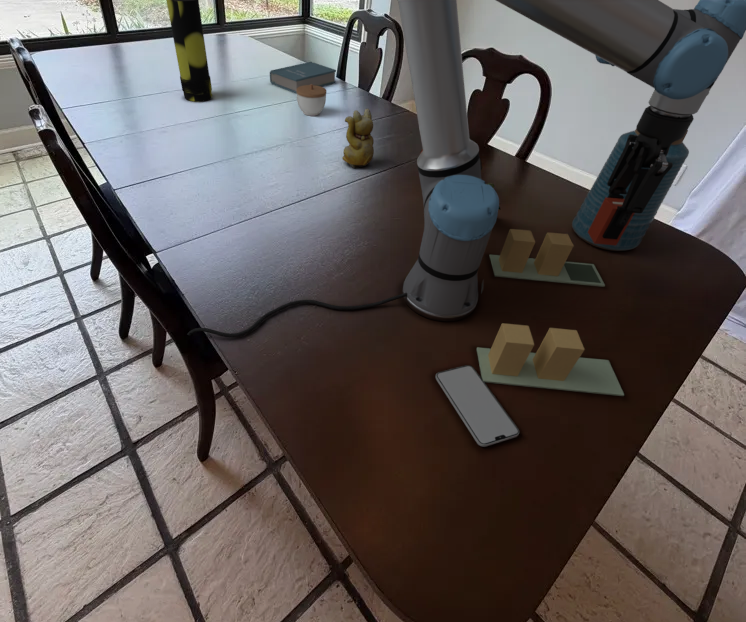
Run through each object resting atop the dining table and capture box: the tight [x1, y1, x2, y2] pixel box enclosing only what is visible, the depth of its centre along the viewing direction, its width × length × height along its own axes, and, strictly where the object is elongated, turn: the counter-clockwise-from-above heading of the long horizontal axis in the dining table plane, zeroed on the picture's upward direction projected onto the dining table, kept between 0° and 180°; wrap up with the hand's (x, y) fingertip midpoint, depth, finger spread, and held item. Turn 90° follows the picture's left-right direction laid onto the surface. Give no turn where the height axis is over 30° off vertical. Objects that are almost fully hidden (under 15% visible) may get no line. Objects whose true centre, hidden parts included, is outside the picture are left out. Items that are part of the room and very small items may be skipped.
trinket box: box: [296, 84, 327, 117], centre depth 158 cm, size 11×11×9 cm
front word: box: [476, 322, 625, 397], centre depth 75 cm, size 24×8×8 cm, turn 85°
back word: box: [489, 228, 606, 288], centre depth 96 cm, size 24×8×8 cm, turn 85°
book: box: [269, 61, 337, 95], centre depth 183 cm, size 23×16×5 cm
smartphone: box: [435, 364, 520, 448], centre depth 71 cm, size 7×1×15 cm
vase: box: [571, 128, 690, 252], centre depth 102 cm, size 16×16×27 cm
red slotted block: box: [588, 197, 635, 245], centre depth 89 cm, size 4×4×8 cm
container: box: [166, 0, 213, 103], centre depth 156 cm, size 11×11×30 cm
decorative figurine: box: [342, 108, 375, 169], centre depth 128 cm, size 10×8×15 cm
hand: (605, 230), depth 91 cm, fingers closed on red slotted block, 4 cm apart
